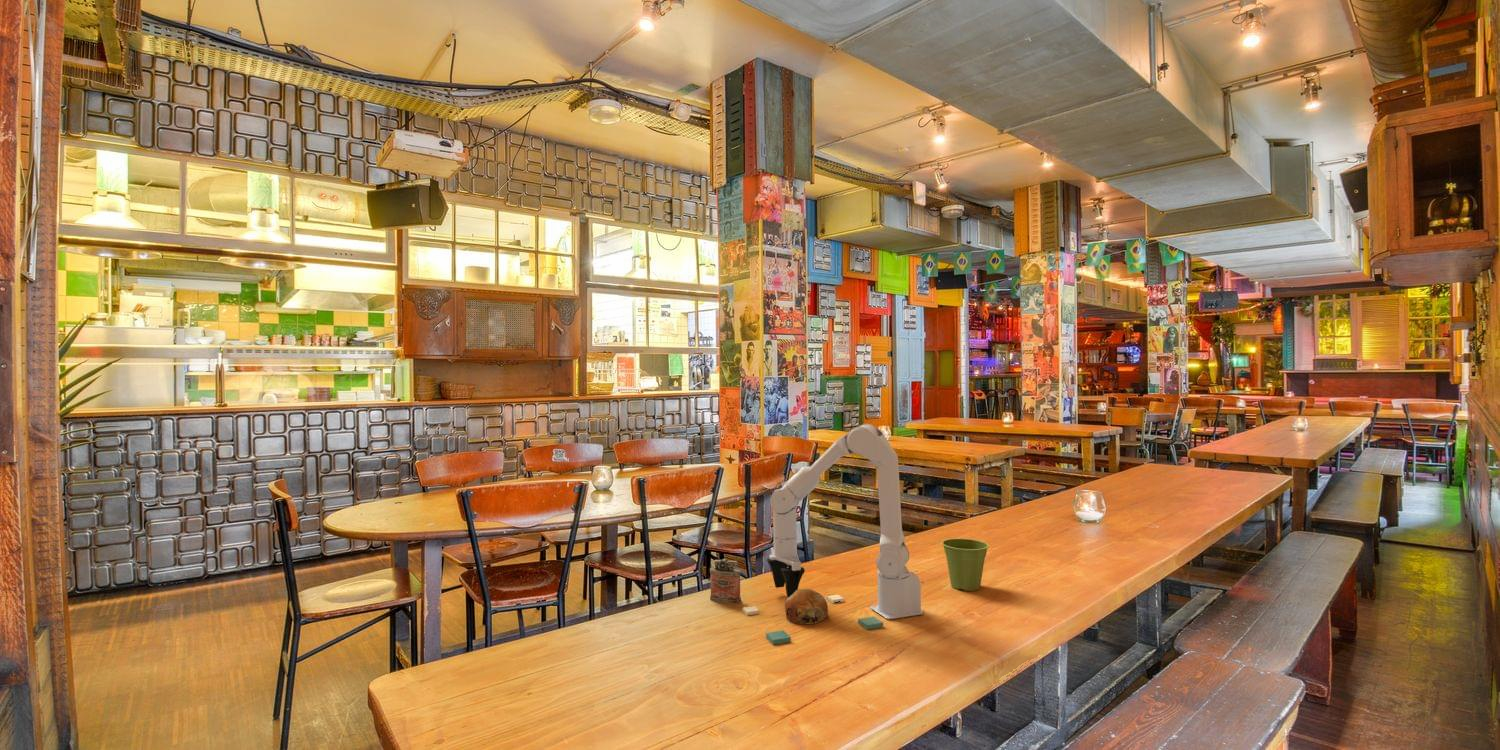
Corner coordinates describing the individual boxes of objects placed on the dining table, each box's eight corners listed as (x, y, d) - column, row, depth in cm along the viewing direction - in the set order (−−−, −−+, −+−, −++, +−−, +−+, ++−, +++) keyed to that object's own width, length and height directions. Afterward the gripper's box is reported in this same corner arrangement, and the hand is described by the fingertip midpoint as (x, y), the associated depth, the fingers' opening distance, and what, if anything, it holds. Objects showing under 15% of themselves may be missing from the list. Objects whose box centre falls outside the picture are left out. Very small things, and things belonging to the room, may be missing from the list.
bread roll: (830, 630, 155) (833, 594, 158) (821, 625, 146) (824, 587, 150) (789, 625, 159) (792, 590, 162) (777, 620, 150) (781, 583, 153)
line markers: (839, 597, 166) (839, 593, 166) (883, 627, 147) (883, 622, 147) (740, 611, 158) (740, 607, 158) (773, 644, 138) (773, 640, 138)
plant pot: (999, 588, 172) (999, 544, 172) (969, 597, 165) (969, 552, 165) (961, 576, 182) (961, 535, 182) (931, 585, 175) (931, 542, 175)
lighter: (707, 600, 165) (707, 560, 165) (713, 596, 168) (713, 556, 168) (737, 604, 162) (737, 563, 162) (743, 600, 165) (742, 559, 165)
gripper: (759, 531, 171) (760, 584, 171) (781, 545, 157) (781, 603, 157) (785, 529, 173) (785, 581, 173) (808, 542, 160) (809, 599, 160)
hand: (785, 591), depth 165 cm, fingers open, 7 cm apart
